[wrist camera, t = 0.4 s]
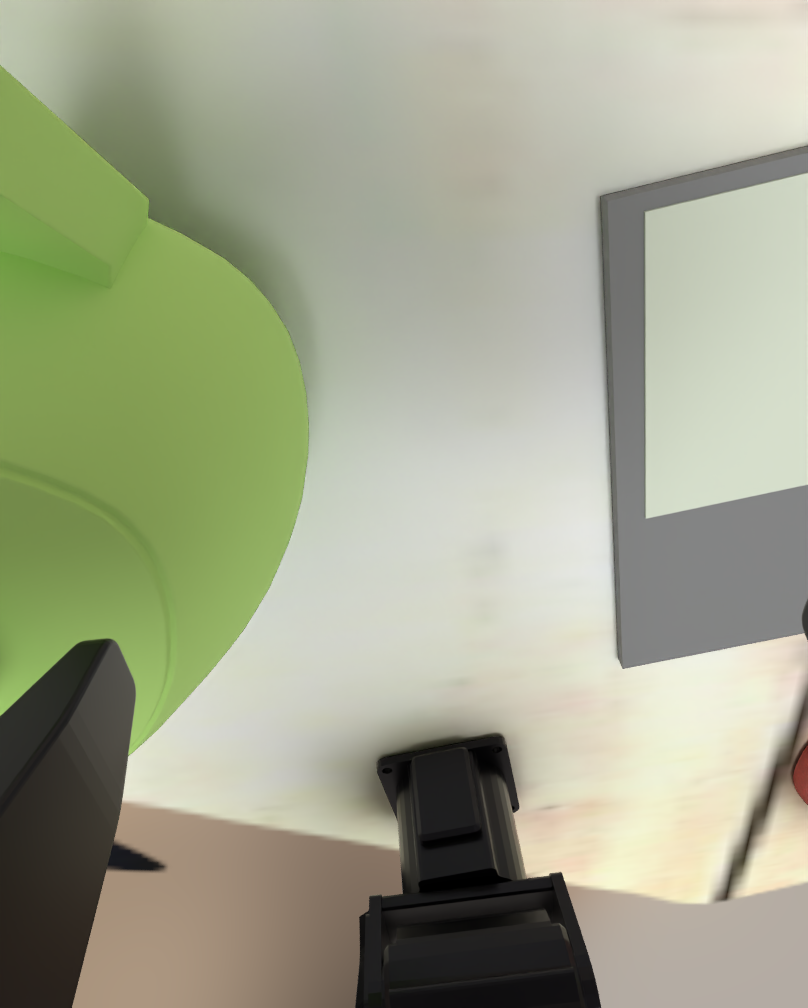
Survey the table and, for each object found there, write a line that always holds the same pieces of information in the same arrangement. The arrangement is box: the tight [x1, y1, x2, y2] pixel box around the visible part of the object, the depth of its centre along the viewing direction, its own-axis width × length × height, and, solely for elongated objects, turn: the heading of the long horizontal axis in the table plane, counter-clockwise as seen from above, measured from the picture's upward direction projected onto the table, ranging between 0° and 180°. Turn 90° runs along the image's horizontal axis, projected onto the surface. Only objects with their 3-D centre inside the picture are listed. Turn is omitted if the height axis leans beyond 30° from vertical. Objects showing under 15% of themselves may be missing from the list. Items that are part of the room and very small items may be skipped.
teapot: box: [0, 65, 309, 756], centre depth 16 cm, size 20×13×13 cm
